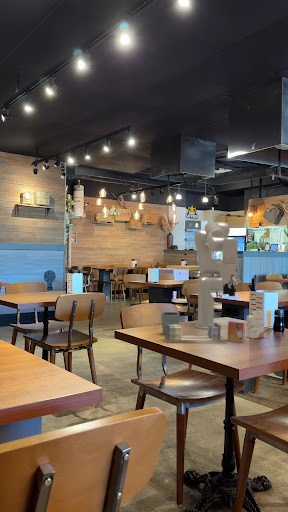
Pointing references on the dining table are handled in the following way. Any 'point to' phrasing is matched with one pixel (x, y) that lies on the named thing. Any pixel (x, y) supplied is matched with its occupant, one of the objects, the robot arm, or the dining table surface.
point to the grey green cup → (169, 319)
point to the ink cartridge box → (255, 325)
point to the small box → (236, 331)
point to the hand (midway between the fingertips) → (228, 295)
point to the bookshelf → (175, 336)
